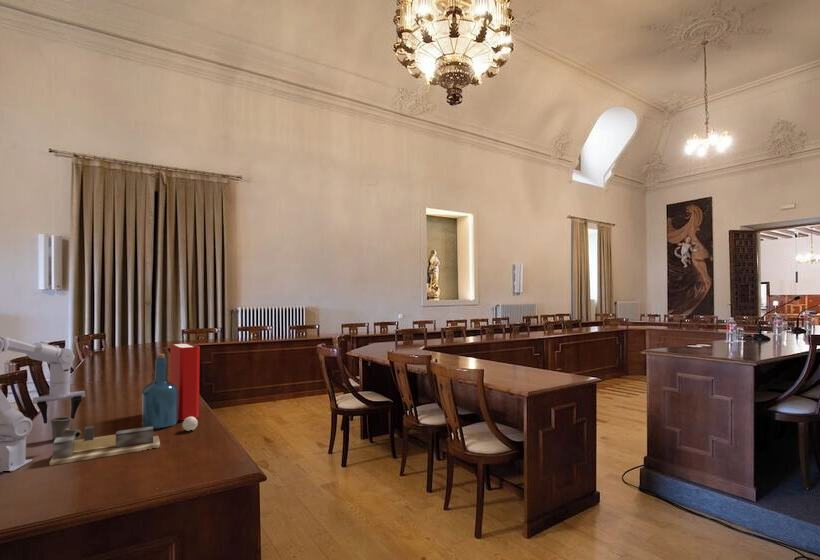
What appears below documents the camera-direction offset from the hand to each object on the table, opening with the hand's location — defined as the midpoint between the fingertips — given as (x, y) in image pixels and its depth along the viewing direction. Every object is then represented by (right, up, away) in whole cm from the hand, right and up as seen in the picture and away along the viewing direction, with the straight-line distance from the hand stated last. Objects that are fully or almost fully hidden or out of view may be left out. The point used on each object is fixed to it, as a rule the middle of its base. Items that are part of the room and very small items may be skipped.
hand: (59, 420), depth 157 cm
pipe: (-7, -11, +11) cm, 17 cm away
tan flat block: (+16, -8, -3) cm, 18 cm away
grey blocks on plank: (+19, -10, -2) cm, 21 cm away
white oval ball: (+37, -11, +22) cm, 44 cm away
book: (+19, -13, +49) cm, 54 cm away
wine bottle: (+19, -12, +29) cm, 37 cm away
